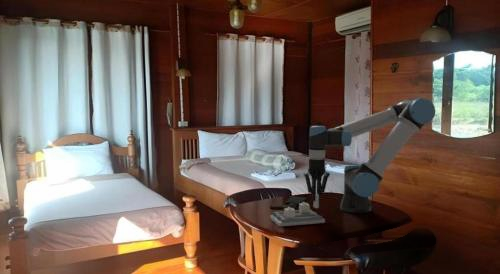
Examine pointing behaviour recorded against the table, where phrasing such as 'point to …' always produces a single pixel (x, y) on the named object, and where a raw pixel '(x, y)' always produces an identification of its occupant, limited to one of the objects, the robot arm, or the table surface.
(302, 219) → the switch plate
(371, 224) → the table surface
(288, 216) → the tab
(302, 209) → the tab
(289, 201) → the firearm
